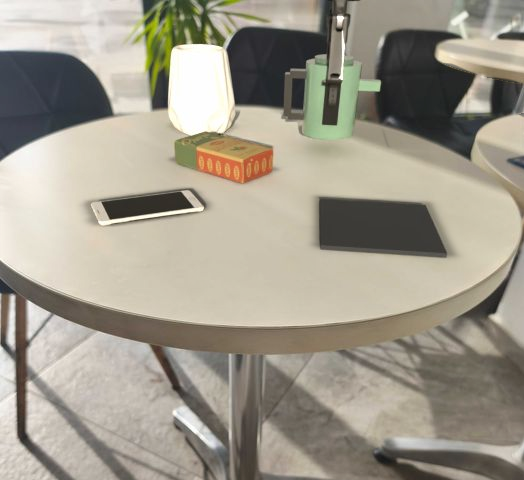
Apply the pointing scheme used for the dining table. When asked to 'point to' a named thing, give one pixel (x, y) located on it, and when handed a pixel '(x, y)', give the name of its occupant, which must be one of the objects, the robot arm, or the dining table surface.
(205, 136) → the carton
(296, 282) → the dining table surface
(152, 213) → the smartphone
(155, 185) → the dining table surface
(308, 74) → the kettle
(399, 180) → the dining table surface
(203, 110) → the vase
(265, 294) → the dining table surface
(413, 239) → the mat
